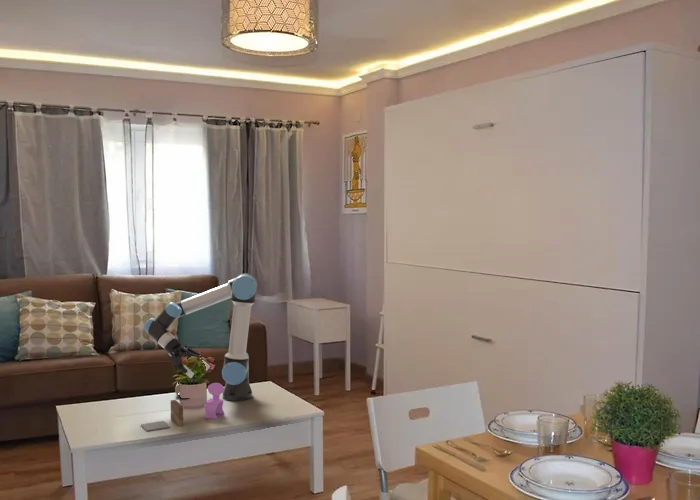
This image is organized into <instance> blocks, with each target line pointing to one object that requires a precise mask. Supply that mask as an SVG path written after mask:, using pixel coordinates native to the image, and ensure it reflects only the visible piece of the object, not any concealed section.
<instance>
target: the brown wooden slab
mask: <svg viewBox="0 0 700 500" xmlns="http://www.w3.org/2000/svg"><path fill="white" fill-rule="evenodd" d="M170 421H172V422H173V423H174V424H175V425H176V426H178V427H184V405H183V404H181V402H179V401H178V400H176V399H171V400H170Z"/></svg>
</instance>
